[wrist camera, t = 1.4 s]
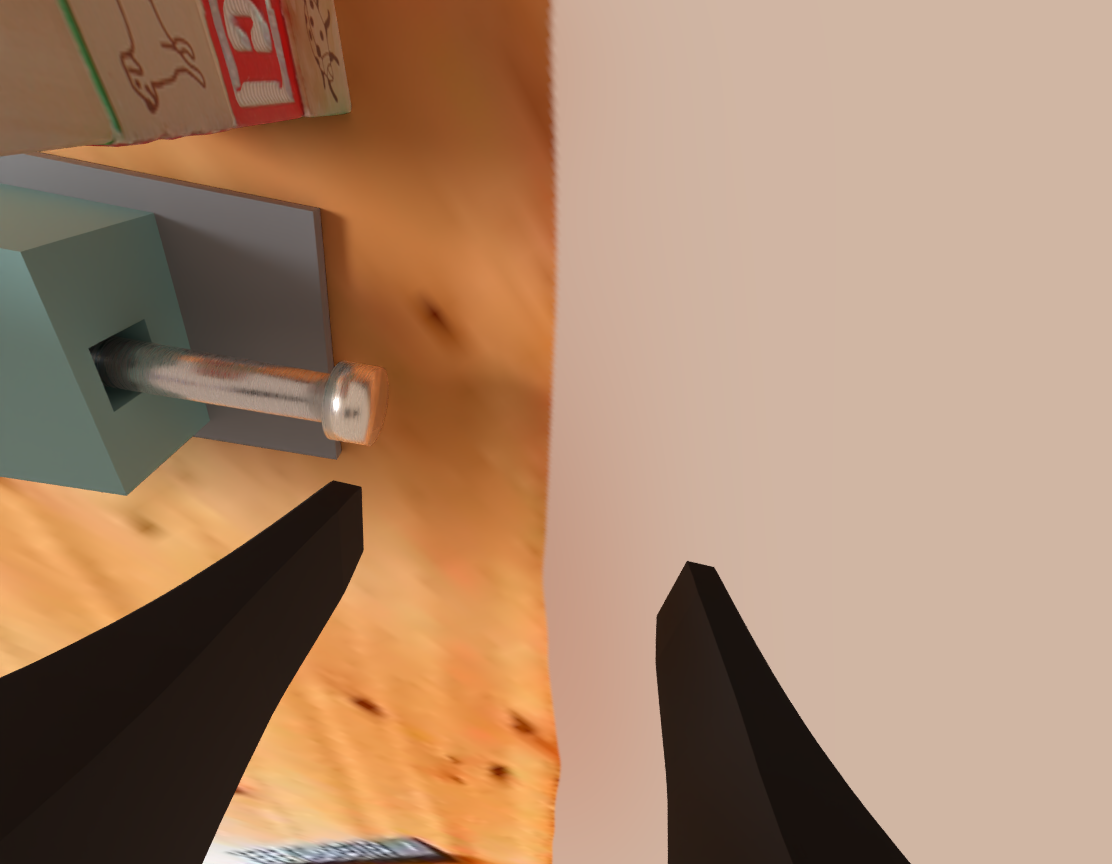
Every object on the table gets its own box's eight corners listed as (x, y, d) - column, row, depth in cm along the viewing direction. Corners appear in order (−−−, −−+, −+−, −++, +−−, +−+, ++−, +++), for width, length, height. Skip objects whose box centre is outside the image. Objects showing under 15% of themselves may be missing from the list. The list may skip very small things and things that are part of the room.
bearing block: (48, 404, 20) (-85, 483, 16) (-88, 127, 15) (-346, 141, 11) (341, 452, 21) (285, 539, 17) (319, 208, 16) (228, 250, 11)
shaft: (78, 364, 17) (7, 404, 15) (48, 292, 16) (-36, 325, 13) (388, 417, 18) (363, 461, 16) (388, 353, 16) (359, 393, 14)
